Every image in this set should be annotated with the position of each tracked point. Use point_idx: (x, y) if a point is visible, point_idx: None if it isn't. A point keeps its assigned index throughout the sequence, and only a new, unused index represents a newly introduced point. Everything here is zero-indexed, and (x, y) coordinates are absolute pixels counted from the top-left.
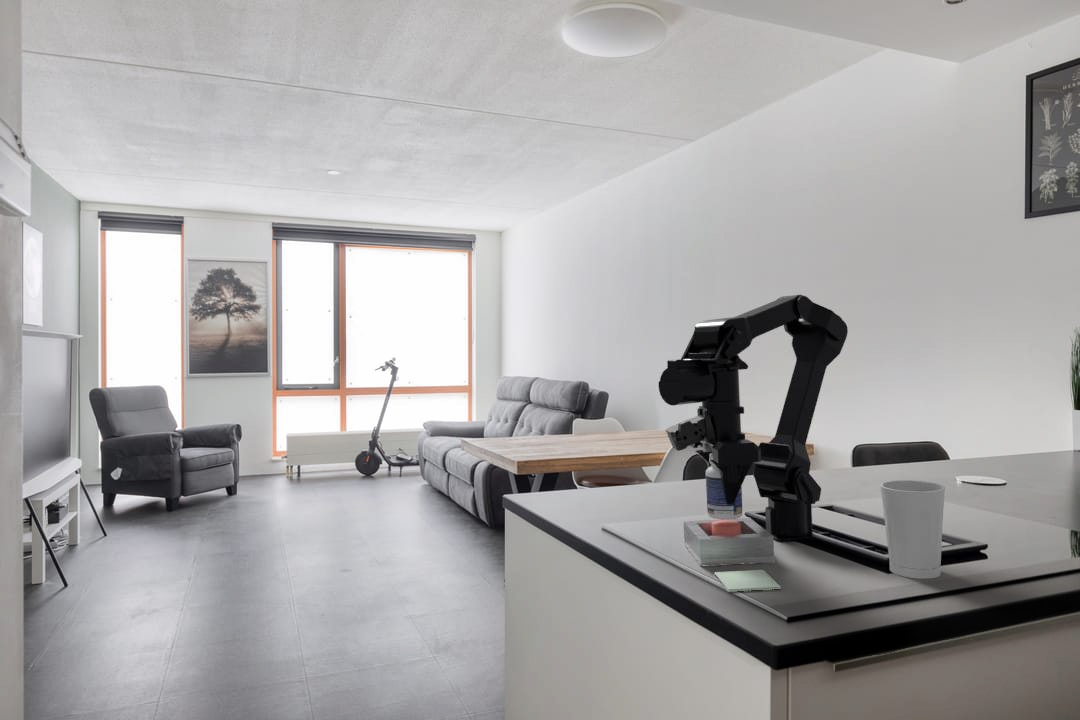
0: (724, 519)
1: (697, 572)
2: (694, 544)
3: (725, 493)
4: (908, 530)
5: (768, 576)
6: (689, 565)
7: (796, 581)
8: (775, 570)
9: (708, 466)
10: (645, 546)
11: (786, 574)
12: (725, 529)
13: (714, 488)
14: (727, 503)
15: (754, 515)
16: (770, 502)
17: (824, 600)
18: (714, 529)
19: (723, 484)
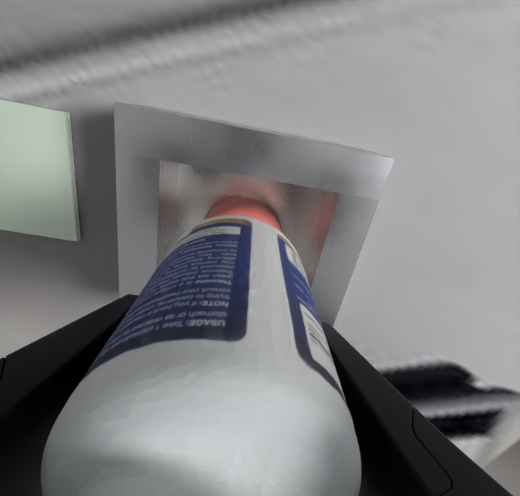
0: (341, 296)
1: (101, 72)
2: (217, 121)
3: (80, 319)
4: None
5: (24, 230)
6: (171, 76)
7: (18, 273)
8: (96, 269)
9: (455, 473)
10: (422, 3)
11: (66, 277)
12: None
13: (142, 299)
14: (129, 296)
15: (489, 400)
16: None
17: None
18: (228, 213)
19: (19, 354)
